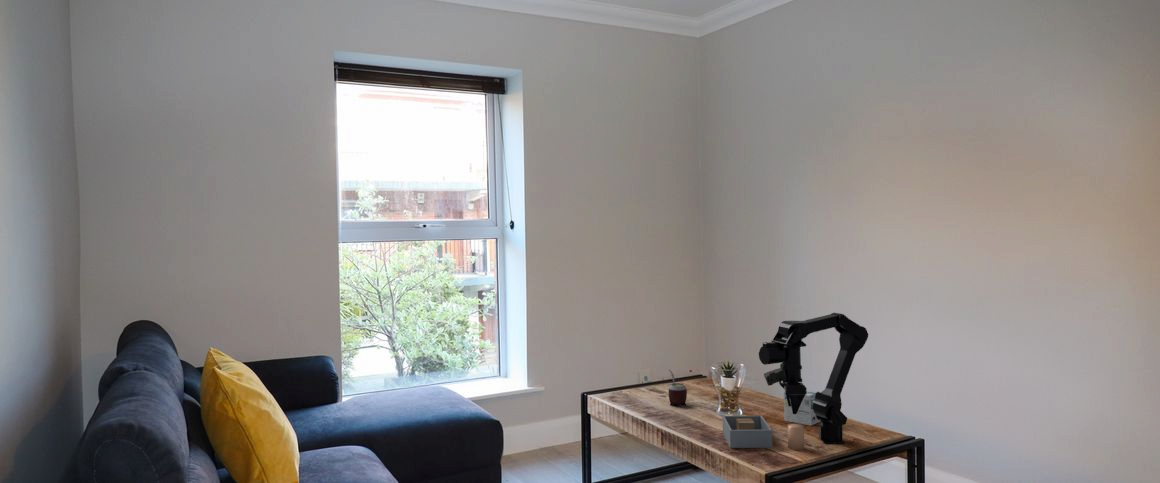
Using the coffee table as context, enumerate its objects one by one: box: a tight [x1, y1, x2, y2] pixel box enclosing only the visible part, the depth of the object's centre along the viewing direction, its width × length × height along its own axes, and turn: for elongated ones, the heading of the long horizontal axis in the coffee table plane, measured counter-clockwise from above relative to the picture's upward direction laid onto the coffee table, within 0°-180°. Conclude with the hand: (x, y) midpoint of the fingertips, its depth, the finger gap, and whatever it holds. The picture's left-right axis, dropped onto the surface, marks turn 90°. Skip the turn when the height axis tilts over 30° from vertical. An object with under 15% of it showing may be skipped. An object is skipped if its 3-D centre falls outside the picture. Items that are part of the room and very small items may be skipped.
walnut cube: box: [736, 419, 754, 430], centre depth 253 cm, size 5×5×5 cm
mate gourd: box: [668, 369, 688, 408], centre depth 296 cm, size 8×8×15 cm
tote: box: [722, 415, 773, 449], centre depth 250 cm, size 13×17×6 cm
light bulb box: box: [783, 390, 821, 427], centre depth 270 cm, size 11×7×11 cm, turn 47°
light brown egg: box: [787, 423, 805, 451], centre depth 240 cm, size 5×5×7 cm
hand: (792, 410), depth 241 cm, fingers open, 9 cm apart
